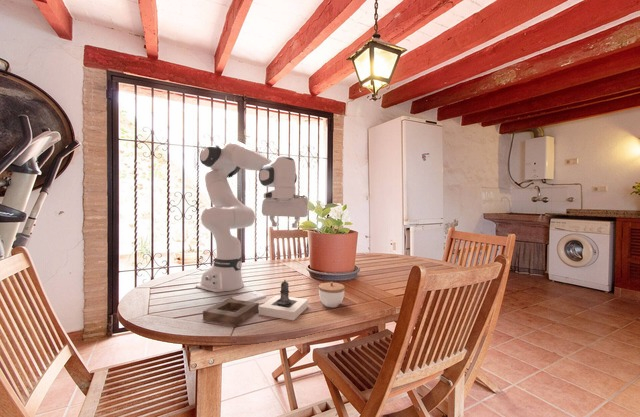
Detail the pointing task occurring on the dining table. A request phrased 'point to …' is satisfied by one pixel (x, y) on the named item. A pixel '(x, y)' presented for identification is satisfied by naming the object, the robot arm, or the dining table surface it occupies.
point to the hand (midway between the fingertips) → (284, 227)
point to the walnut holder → (233, 318)
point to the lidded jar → (331, 294)
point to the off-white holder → (283, 308)
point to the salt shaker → (284, 296)
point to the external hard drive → (249, 296)
